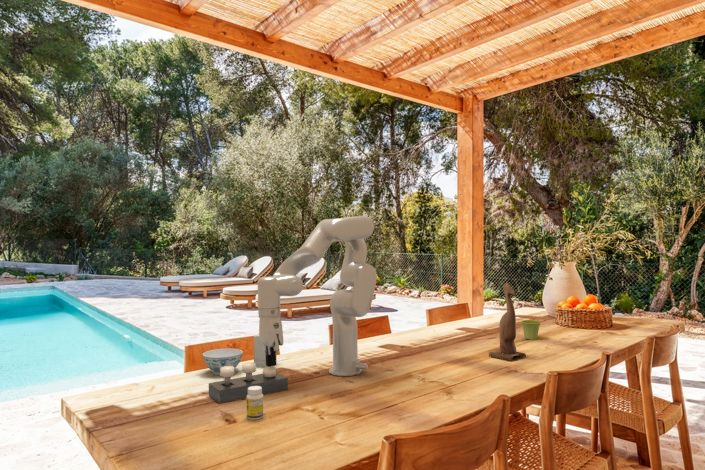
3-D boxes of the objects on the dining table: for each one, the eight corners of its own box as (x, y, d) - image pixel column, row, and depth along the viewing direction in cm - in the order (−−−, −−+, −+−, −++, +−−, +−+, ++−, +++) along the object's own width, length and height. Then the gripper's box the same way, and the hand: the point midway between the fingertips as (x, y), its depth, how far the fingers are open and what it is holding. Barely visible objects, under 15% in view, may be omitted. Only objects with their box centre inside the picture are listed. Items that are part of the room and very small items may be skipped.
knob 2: (272, 382, 170) (272, 366, 170) (278, 385, 166) (278, 368, 166) (260, 384, 167) (260, 368, 168) (266, 387, 164) (266, 370, 164)
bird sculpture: (512, 363, 200) (514, 285, 200) (487, 357, 208) (489, 282, 208) (526, 358, 207) (528, 283, 207) (502, 353, 216) (503, 281, 216)
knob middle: (252, 378, 166) (252, 361, 166) (257, 381, 162) (257, 364, 162) (240, 380, 163) (240, 363, 163) (245, 383, 160) (245, 366, 160)
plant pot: (543, 340, 242) (543, 323, 242) (524, 340, 242) (524, 323, 242) (536, 336, 251) (536, 320, 252) (518, 336, 252) (518, 320, 252)
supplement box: (270, 368, 194) (270, 336, 194) (253, 367, 196) (253, 335, 196) (277, 363, 201) (276, 332, 202) (260, 362, 203) (260, 332, 203)
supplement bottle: (247, 414, 142) (247, 385, 142) (264, 413, 142) (263, 385, 142) (245, 420, 137) (245, 390, 137) (262, 419, 137) (262, 390, 137)
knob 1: (231, 382, 161) (231, 365, 161) (236, 385, 158) (236, 368, 158) (218, 384, 159) (218, 367, 159) (223, 387, 155) (223, 370, 155)
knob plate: (274, 382, 174) (274, 371, 174) (288, 389, 165) (287, 377, 165) (208, 395, 160) (208, 383, 160) (219, 403, 152) (219, 390, 152)
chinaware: (230, 365, 198) (230, 346, 198) (250, 372, 188) (250, 352, 188) (195, 372, 188) (195, 352, 188) (215, 380, 177) (214, 359, 177)
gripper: (289, 313, 163) (291, 368, 164) (269, 308, 176) (271, 359, 176) (269, 316, 159) (270, 372, 159) (250, 311, 171) (252, 363, 171)
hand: (271, 365), depth 167 cm, fingers closed
